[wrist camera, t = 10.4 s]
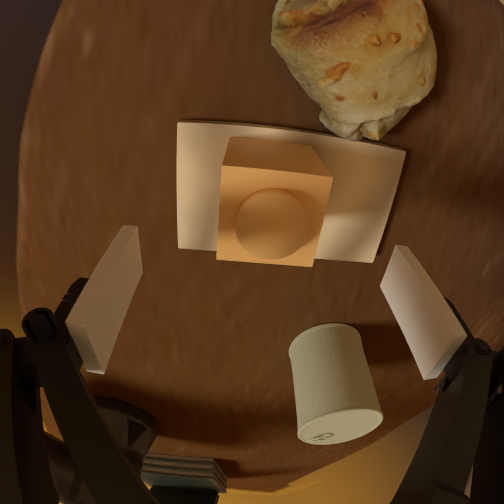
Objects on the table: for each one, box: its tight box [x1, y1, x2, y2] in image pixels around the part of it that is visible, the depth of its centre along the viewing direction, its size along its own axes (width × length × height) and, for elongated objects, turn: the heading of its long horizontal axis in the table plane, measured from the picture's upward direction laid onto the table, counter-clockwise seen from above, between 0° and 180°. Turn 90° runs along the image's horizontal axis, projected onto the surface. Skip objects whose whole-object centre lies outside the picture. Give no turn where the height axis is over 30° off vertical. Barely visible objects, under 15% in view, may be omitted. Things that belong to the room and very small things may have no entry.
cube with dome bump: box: [217, 137, 333, 267], centre depth 20 cm, size 6×6×8 cm
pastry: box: [271, 0, 437, 141], centre depth 15 cm, size 14×12×8 cm
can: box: [289, 323, 383, 445], centre depth 32 cm, size 9×9×12 cm
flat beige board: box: [177, 120, 406, 263], centre depth 23 cm, size 18×11×6 cm, turn 85°
